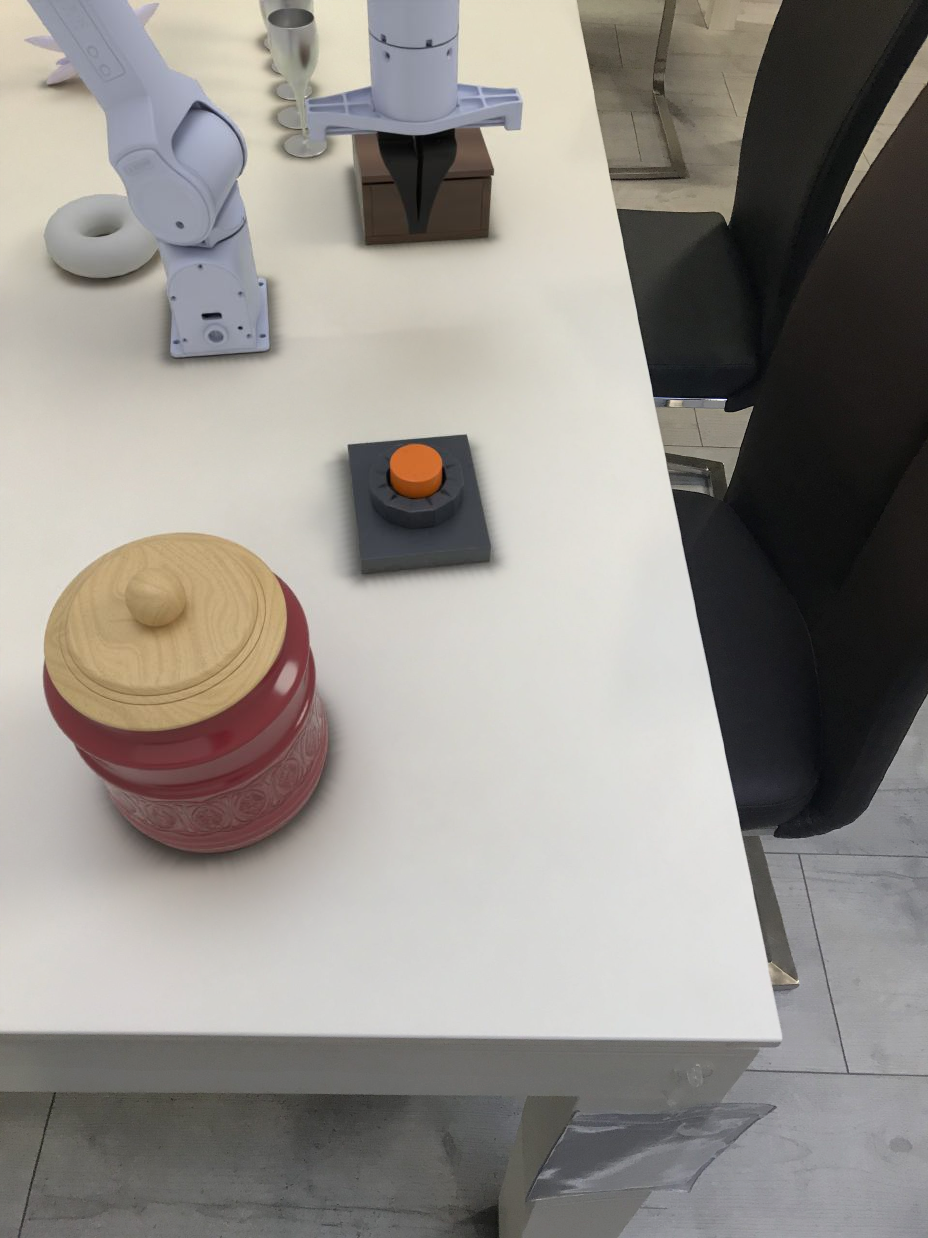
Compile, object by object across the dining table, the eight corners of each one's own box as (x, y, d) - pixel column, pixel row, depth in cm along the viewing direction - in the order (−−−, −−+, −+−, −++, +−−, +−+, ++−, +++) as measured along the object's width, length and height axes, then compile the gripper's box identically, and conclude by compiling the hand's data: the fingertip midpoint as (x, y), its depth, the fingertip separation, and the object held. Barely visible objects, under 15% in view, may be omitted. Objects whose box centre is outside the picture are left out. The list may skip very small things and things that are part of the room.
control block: (490, 562, 64) (492, 530, 61) (361, 575, 63) (358, 543, 60) (466, 449, 70) (467, 415, 67) (349, 460, 69) (345, 426, 66)
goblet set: (336, 155, 93) (324, 10, 82) (279, 160, 92) (259, 14, 81) (306, 29, 108) (292, -107, 97) (257, 32, 108) (237, -105, 97)
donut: (147, 292, 80) (178, 224, 85) (136, 257, 77) (169, 189, 83) (35, 282, 80) (73, 215, 86) (20, 247, 77) (60, 180, 83)
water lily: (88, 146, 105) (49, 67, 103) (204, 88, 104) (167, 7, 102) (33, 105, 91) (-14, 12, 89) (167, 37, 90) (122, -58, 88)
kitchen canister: (125, 669, 58) (23, 479, 44) (329, 656, 59) (296, 465, 45) (98, 868, 51) (-34, 719, 36) (332, 850, 52) (293, 697, 37)
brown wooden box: (488, 237, 86) (491, 177, 81) (365, 244, 85) (361, 185, 80) (468, 164, 93) (470, 106, 88) (354, 170, 92) (349, 111, 87)
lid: (493, 175, 80) (494, 168, 80) (361, 182, 79) (361, 175, 78) (470, 105, 88) (470, 98, 88) (349, 111, 87) (349, 104, 86)
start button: (445, 496, 63) (445, 479, 62) (393, 501, 63) (392, 483, 61) (438, 458, 65) (438, 441, 64) (388, 463, 65) (387, 445, 63)
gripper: (513, -5, 61) (500, 190, 72) (293, 4, 59) (315, 202, 70) (535, 45, 57) (518, 242, 68) (300, 56, 55) (323, 256, 66)
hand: (416, 225), depth 69 cm, fingers closed
